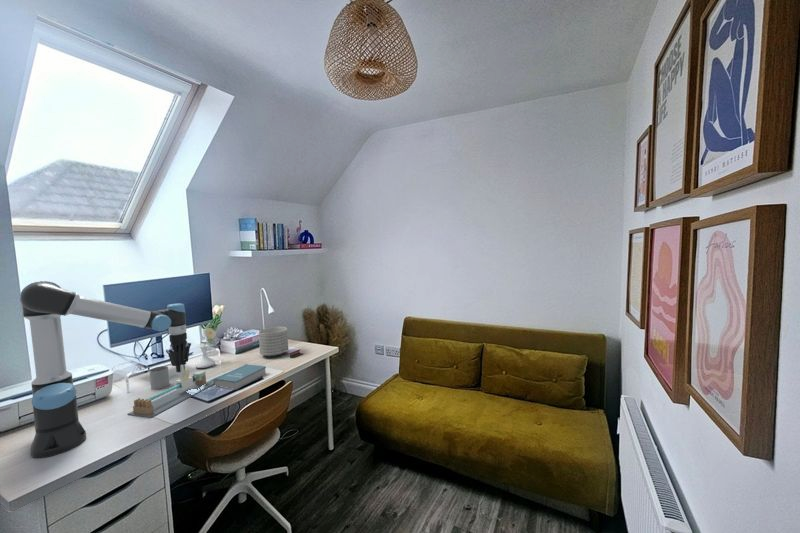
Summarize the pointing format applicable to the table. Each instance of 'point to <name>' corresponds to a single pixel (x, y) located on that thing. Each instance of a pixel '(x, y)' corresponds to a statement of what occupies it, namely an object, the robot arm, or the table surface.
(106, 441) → the table surface
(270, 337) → the planter
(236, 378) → the book
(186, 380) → the sliding rod collar
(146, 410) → the cord rig
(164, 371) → the cup
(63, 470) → the table surface
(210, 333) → the flower in vase
